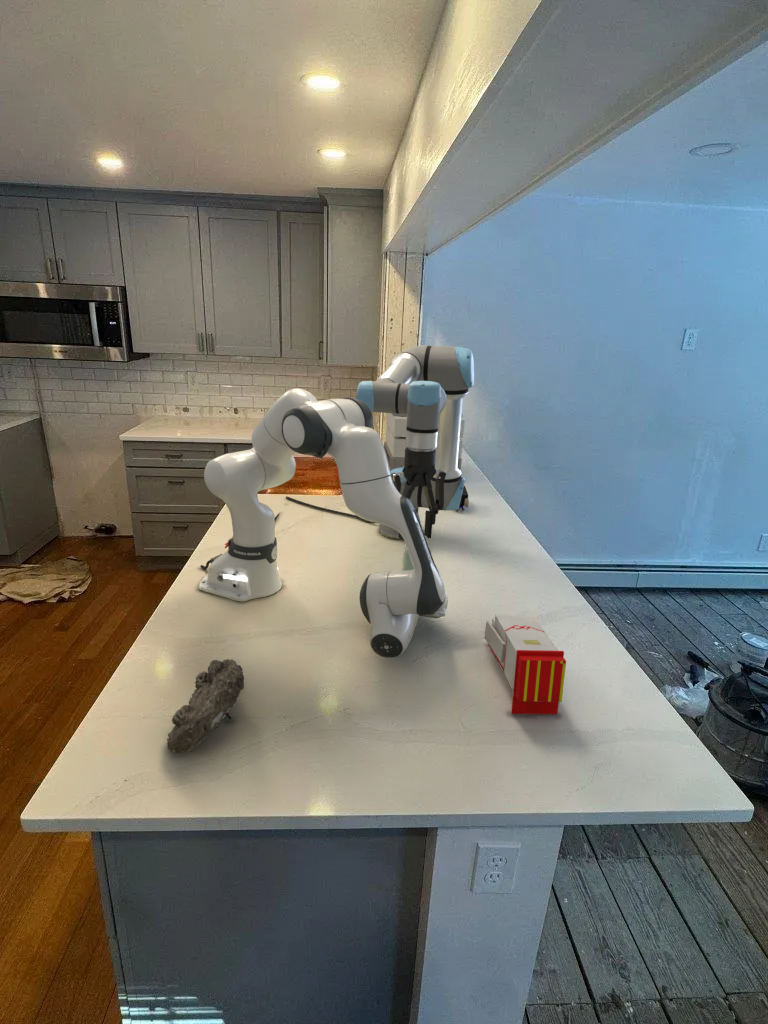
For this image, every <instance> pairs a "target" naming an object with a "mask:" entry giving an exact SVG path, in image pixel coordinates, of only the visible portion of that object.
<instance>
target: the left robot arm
mask: <svg viewBox="0 0 768 1024" xmlns="http://www.w3.org/2000/svg"><path fill="white" fill-rule="evenodd" d="M373 419H374V418H373V414H372V412H371V411H370V409H369V407H368V406H367V405H366V404H365V403H364V402H363V401H361V400H358V399H356V397H355V398H354V397H341V398H328V399H327V398H326V399H322V400H318V399H317V398H316V397H315V395H314V394H312V393H311V392H310V391H308V390H306V389H303V388H291V389H289V390H287V391H286V392H285V393H283V394H282V395H281V396H279V397H278V398H277V399H276V400H275V402H274V403H273V404H272V405H271V406H270V407H269V408H268V409H267V411H266V413H265V414H264V415H263V416H262V418H261V419H260V421H259V422H258V424H257V425H256V427H255V428H254V429H253V431H252V433H251V446H252V448H249V449H245V450H240V451H233V452H229V453H224V454H222V455H219V456H217V457H215V458H213V459H211V460H209V461H208V462H207V463H206V466H205V468H204V472H203V479H204V483H205V486H206V488H207V489H208V490H209V492H210V493H211V494H212V495H213V496H215V497H216V498H218V499H220V500H221V501H223V503H224V504H225V506H226V507H227V508H228V510H229V513H230V517H231V525H232V537H231V538H229V539H228V540H227V542H225V544H224V549H227V550H226V551H224V552H223V553H220V554H218V555H216V556H214V557H211V558H210V559H209V560H207V561H206V563H205V565H203V564H201V565H200V568H201V569H203V570H207V569H208V570H207V574H206V575H205V576H204V577H203V578H202V579H201V580H200V581H199V583H198V584H199V585H198V589H199V590H200V591H202V592H206V593H209V594H213V595H216V596H219V597H223V598H227V599H229V600H233V601H237V602H240V603H241V602H248V601H251V600H253V599H258V598H265V597H269V596H273V594H274V595H275V593H277V592H279V591H280V590H281V588H282V587H283V582H282V580H281V577H280V573H279V567H278V561H277V560H278V559H277V558H278V539H277V537H276V521H275V517H276V516H275V512H274V511H273V509H272V508H271V507H270V506H269V505H267V504H265V503H263V502H260V501H259V497H258V495H259V494H258V493H259V492H261V491H265V490H268V489H273V488H276V487H279V486H281V485H283V484H285V483H287V482H289V481H290V480H292V479H293V478H294V476H295V473H296V469H297V464H296V463H297V462H296V460H295V457H294V455H295V454H299V455H305V456H312V457H314V458H318V459H323V458H324V457H325V456H326V455H329V456H330V457H331V458H333V460H334V462H335V464H336V467H337V474H338V479H339V485H340V490H341V495H342V498H343V501H344V504H345V507H346V508H347V509H348V510H349V511H350V512H351V514H353V515H356V516H358V517H360V518H362V519H364V520H367V521H371V522H375V523H374V524H377V523H379V525H380V524H383V525H386V526H389V527H391V528H393V529H395V530H396V531H398V532H399V533H400V534H401V536H402V537H403V539H404V541H403V542H404V544H405V547H407V550H408V553H409V556H410V558H411V561H412V564H413V567H414V569H413V570H405V571H402V570H396V571H392V570H391V571H390V570H389V571H382V572H373V573H372V572H371V573H369V574H368V575H367V577H366V578H365V579H364V581H363V583H362V584H361V587H360V590H359V606H360V609H361V612H362V615H363V617H364V618H365V619H366V621H367V622H368V623H369V625H370V634H369V635H370V636H369V644H370V647H371V650H372V651H373V652H374V653H375V654H376V655H377V656H379V657H382V658H386V659H392V658H393V659H394V658H397V657H400V656H402V655H403V654H404V653H405V652H406V650H407V648H408V647H409V645H410V643H411V640H412V638H413V636H414V633H415V629H416V627H417V624H418V622H419V619H420V617H421V618H428V619H440V618H444V617H445V616H446V614H447V609H448V602H449V596H448V595H447V594H446V588H445V584H444V581H443V579H442V577H441V573H440V572H439V569H438V567H437V565H436V563H435V560H434V559H433V555H432V553H431V550H430V549H431V548H430V546H429V543H428V541H427V537H426V536H425V535H424V530H423V526H422V527H421V525H422V524H420V522H421V520H420V521H419V518H420V517H419V518H418V516H417V513H416V511H415V509H414V507H413V505H412V503H411V501H410V500H409V499H408V498H406V497H403V496H402V495H401V494H400V493H399V492H398V491H397V489H396V487H395V486H394V483H393V481H392V478H391V473H390V467H389V463H388V459H387V456H386V452H385V449H384V442H383V441H382V438H381V436H380V433H379V432H378V431H377V430H375V429H374V428H373V426H374V425H373V424H374V420H373Z"/></svg>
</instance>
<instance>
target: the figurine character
mask: <svg viewBox="0 0 768 1024" xmlns="http://www.w3.org/2000/svg"><path fill="white" fill-rule="evenodd" d="M469 505H470V500H469V492H468V490H467V488H466V485H464V488H463V492H462V496H461V501H460V504H459V508H458V509H461V511H462V512H464V511H465V508H469ZM458 509H457V510H455V511H456V512H457V511H458Z"/></svg>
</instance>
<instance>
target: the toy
mask: <svg viewBox="0 0 768 1024" xmlns="http://www.w3.org/2000/svg"><path fill="white" fill-rule="evenodd" d="M494 615H495V616H494V617H491V622H490V620H485V621H486V622H485V630H484V640H485V641H486V642H487V646H488V647H489V649H490V651H491V652H492V654H493V656H494V657H495V659H496V661H497V663H498V665H499V667H500V668H501V670H502V671H503V674H504V676H505V678H506V680H507V682H508V684H509V686H510V689H511V690H512V701H511V712H510V713H511V714H512V715H556V716H558V715H559V714H558V713H559V705H560V703H562V702H563V695H564V694H563V693H564V686H565V685H564V683H565V677H566V676H565V675H566V667H567V666H566V665H567V660H566V658H564V656H565V651H564V650H559V649H558V648H557V646H556V645H555V644H554V642H553V641H552V640H551V638H550V637H549V636H548V634H547V633H546V631H544V629H543V628H542V626H541V625H540V623H539V622H538V620H536V618H535V617H534V615H531V614H530V615H527V614H526V615H523V614H519V615H518V614H494Z"/></svg>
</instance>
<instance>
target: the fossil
mask: <svg viewBox="0 0 768 1024" xmlns="http://www.w3.org/2000/svg"><path fill="white" fill-rule="evenodd" d="M243 670H244V669H243V667H242V665H240V664H237V662H236V661H235V660H234V659H232V658H231V659H227V658H226V659H224V660H223V661H222V660H217V659H212V660H211V661H210V663H209V665H208V666H207V671H201V672H199V673H198V674H197V675H196V676H195V680H194V684H195V685H194V687H195V689H194V690H193V693H192V694H191V697H190V698H189V700H188V704H184V705H182V706H181V707H180V709H177V710H176V711H175V713H174V715H173V716H172V718H171V723H172V724H173V727H172V730H171V731H170V732H168V734H167V738H166V741H167V742H166V745H167V749H168V750H169V751H173V752H174V753H176V754H178V753H182V752H188V751H189V752H192V751H193V750H195V748H196V747H197V746H199V744H200V743H201V742H203V741H204V740H205V739H206V738H207V737H208V736H209V735H210V734H211V733H212V732H214V730H215V729H217V727H218V726H219V724H220V722H221V721H222V720H223V719H224V718H225V716H226V717H227V719H229V720H233V717H232V715H230V714H229V710H230V709H231V708H234V706H235V704H236V703H237V702H238V699H239V697H240V695H241V693H242V691H243V690H245V689H244V688H245V675H244V671H243Z"/></svg>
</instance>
